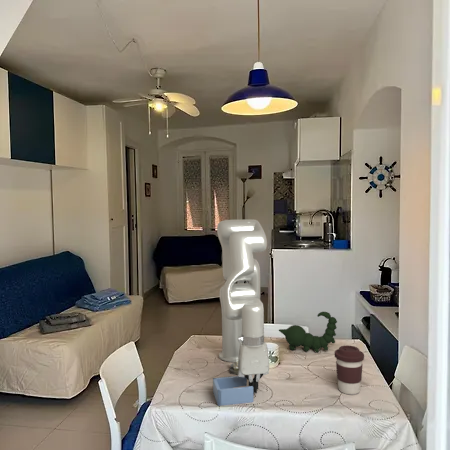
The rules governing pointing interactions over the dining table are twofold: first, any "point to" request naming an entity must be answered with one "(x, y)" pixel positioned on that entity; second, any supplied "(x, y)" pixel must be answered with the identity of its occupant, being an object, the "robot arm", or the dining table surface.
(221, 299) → the robot arm
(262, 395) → the dining table surface
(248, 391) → the box
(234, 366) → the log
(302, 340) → the toy figurine
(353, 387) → the coffee cup
